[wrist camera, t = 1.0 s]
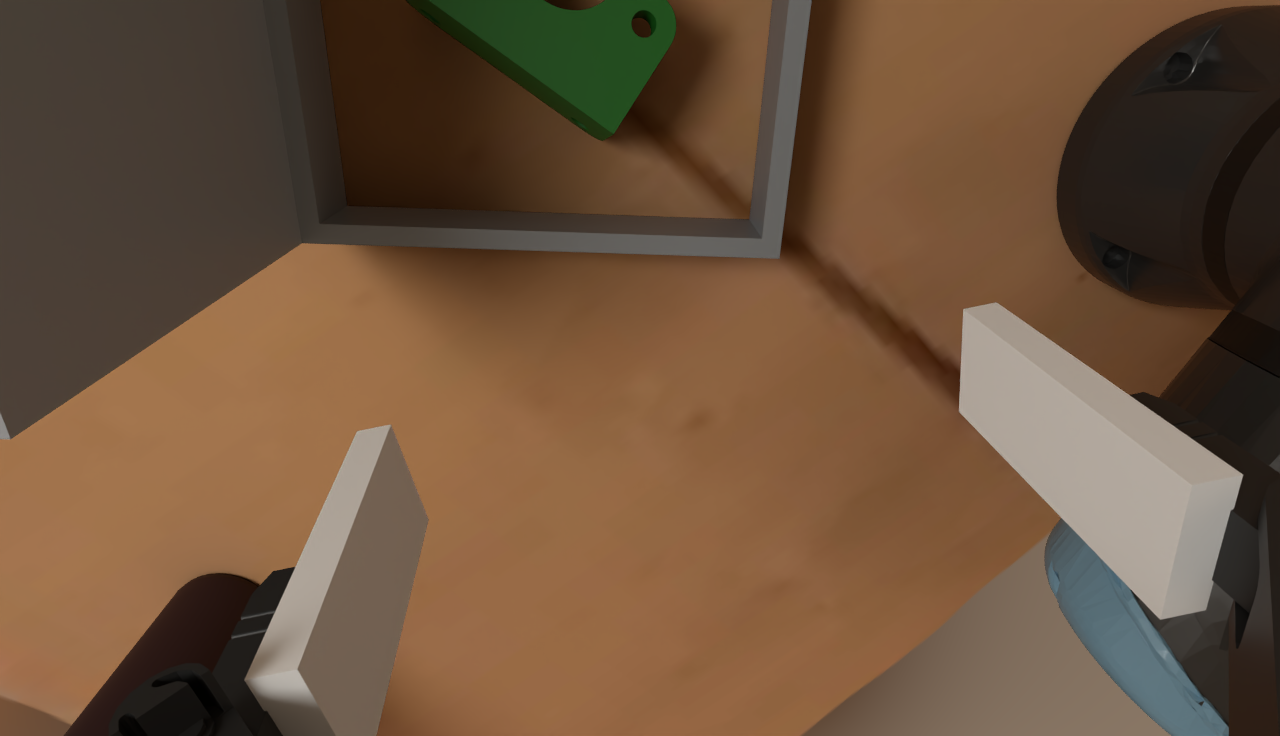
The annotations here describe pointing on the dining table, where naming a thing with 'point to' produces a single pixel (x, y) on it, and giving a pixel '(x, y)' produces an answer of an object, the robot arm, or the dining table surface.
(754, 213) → the case
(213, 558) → the dining table surface
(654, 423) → the dining table surface
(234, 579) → the wine bottle
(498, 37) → the clamp
